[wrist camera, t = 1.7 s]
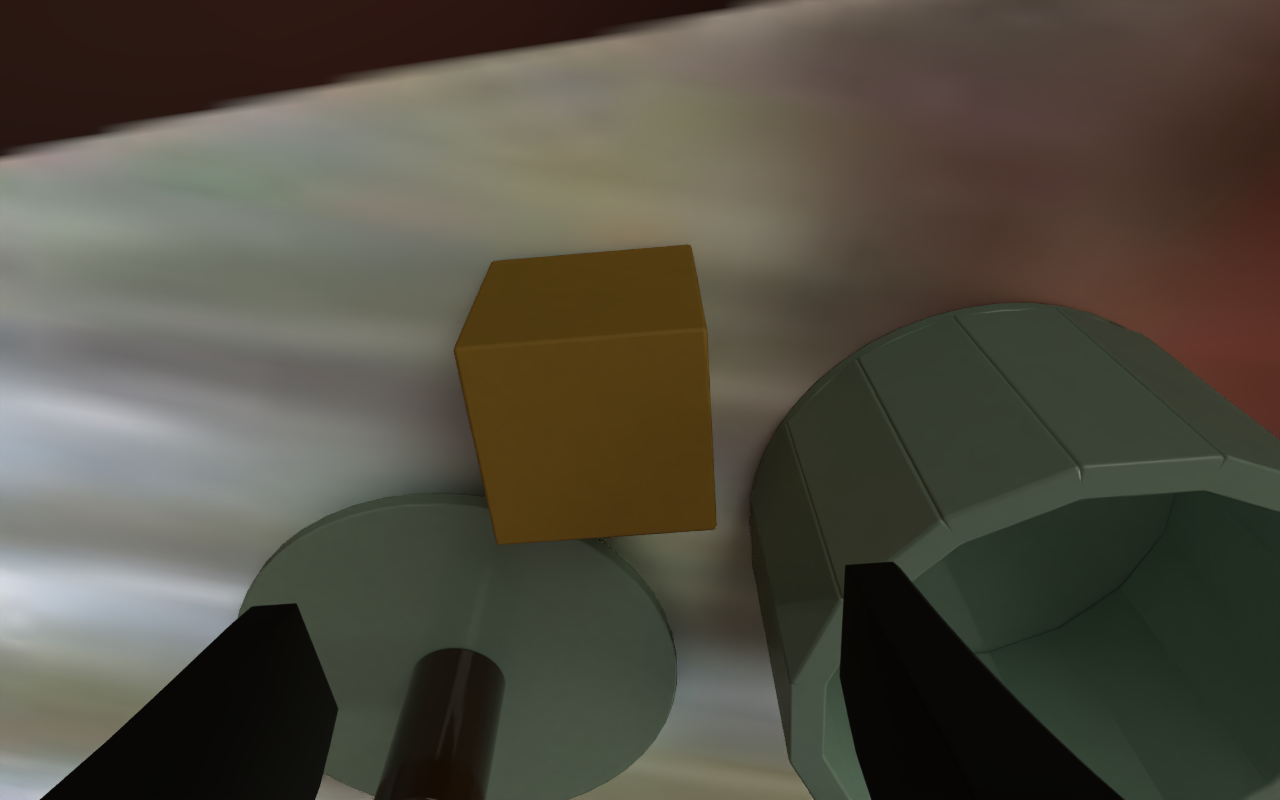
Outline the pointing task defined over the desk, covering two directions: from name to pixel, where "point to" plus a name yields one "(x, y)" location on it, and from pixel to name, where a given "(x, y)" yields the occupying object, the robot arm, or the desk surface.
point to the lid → (474, 652)
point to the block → (591, 395)
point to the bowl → (1037, 543)
